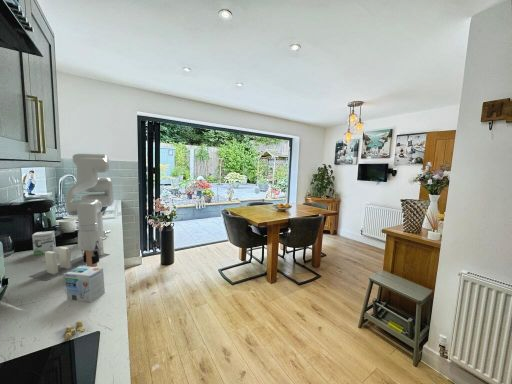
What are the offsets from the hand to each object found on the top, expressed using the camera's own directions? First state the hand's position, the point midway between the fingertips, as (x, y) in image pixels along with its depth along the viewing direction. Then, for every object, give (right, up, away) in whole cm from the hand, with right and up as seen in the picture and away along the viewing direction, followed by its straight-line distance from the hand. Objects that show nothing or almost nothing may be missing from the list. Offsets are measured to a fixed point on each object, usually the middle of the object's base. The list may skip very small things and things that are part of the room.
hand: (91, 261), depth 108 cm
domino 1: (-13, -3, -7) cm, 15 cm away
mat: (-10, -2, +1) cm, 10 cm away
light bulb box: (+16, -6, -24) cm, 29 cm away
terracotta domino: (0, -2, 0) cm, 3 cm away
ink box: (-39, 0, +16) cm, 42 cm away
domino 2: (-11, -2, -2) cm, 12 cm away
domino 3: (-6, 0, +14) cm, 15 cm away
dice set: (+26, -9, -41) cm, 50 cm away
